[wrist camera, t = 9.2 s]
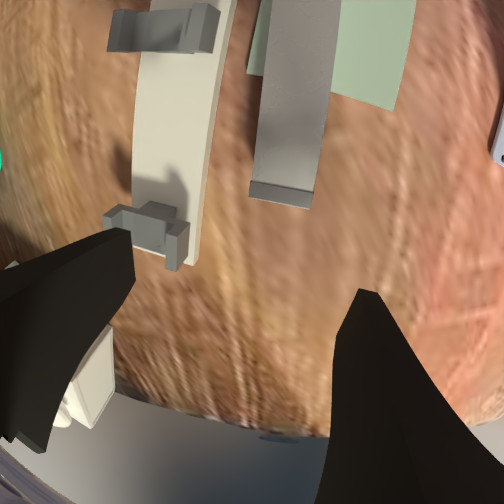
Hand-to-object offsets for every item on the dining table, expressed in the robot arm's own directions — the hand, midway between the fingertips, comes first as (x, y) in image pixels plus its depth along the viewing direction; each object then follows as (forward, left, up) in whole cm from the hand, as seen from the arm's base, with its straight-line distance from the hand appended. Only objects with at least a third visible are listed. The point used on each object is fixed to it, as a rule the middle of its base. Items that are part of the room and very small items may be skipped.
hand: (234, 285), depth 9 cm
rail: (0, -8, -9) cm, 12 cm away
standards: (+7, -2, -10) cm, 12 cm away
